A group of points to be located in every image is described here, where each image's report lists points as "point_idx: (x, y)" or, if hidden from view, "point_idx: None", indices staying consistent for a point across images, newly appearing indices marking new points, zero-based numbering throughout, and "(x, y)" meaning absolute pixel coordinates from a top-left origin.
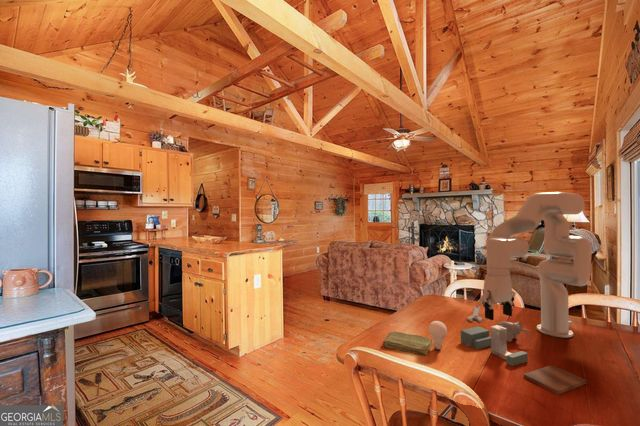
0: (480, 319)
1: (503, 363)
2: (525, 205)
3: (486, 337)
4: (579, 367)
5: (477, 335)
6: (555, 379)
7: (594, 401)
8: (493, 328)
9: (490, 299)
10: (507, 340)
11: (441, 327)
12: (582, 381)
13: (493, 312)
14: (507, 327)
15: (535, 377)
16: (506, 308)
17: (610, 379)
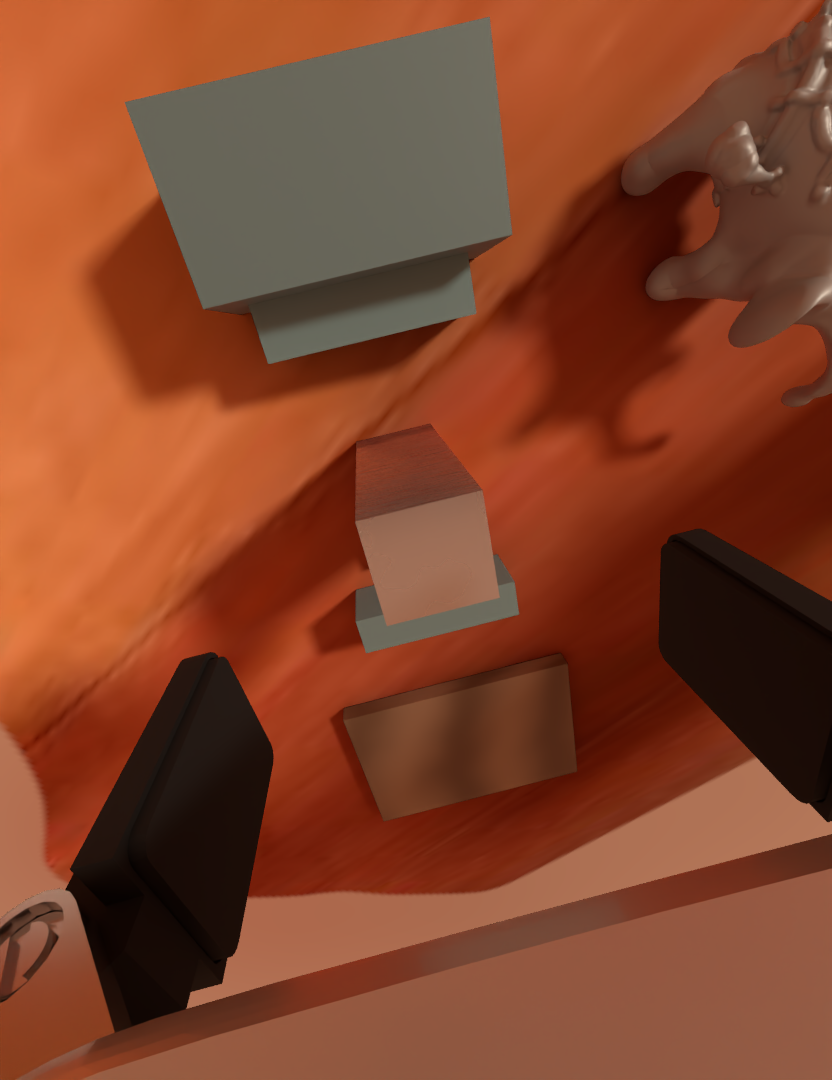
0: None
1: (337, 584)
2: None
3: (428, 290)
4: None
5: (313, 286)
6: (454, 762)
7: (474, 835)
8: (364, 550)
9: (406, 990)
10: (648, 288)
11: None
12: (550, 777)
13: (235, 900)
14: (779, 225)
15: (376, 745)
16: (751, 680)
17: (695, 742)
